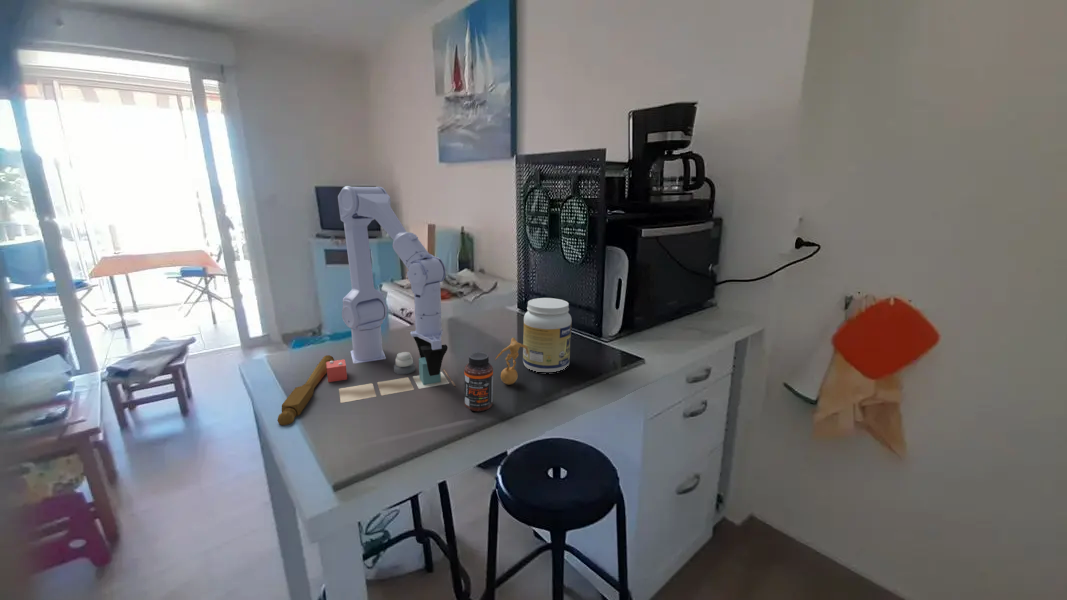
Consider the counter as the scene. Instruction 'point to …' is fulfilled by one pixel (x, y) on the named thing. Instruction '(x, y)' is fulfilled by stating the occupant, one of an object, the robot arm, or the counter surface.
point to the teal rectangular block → (427, 373)
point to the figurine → (510, 373)
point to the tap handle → (302, 394)
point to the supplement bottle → (478, 382)
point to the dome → (404, 359)
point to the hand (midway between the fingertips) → (430, 368)
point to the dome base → (404, 369)
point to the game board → (386, 388)
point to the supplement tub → (547, 335)
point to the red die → (336, 370)
